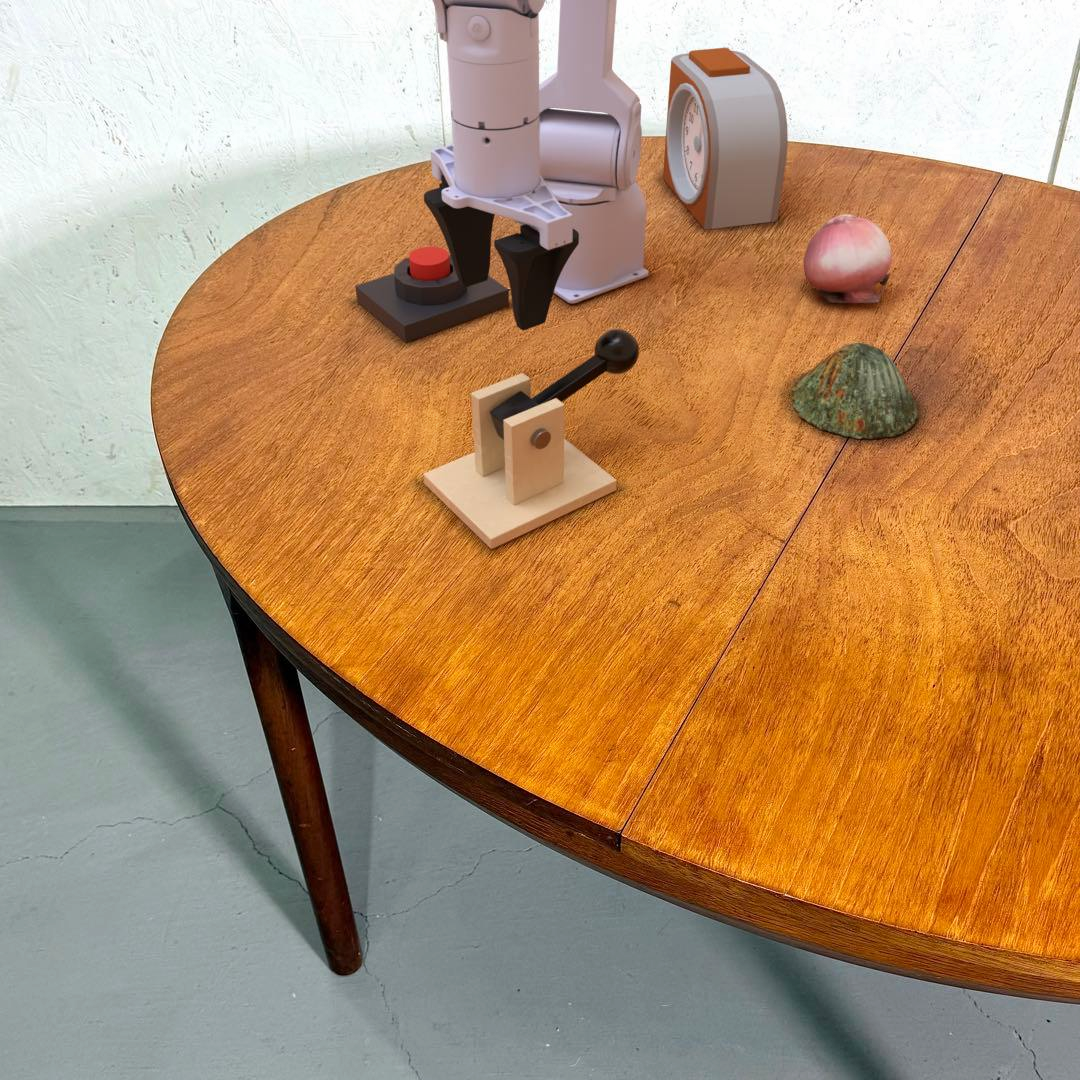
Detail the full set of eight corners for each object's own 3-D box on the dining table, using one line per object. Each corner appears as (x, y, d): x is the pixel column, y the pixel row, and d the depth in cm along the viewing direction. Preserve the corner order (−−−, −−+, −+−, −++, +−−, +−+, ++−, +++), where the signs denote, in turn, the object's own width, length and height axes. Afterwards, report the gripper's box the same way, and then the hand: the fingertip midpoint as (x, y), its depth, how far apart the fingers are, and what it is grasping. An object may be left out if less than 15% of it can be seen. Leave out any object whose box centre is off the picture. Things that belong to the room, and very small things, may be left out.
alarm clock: (655, 173, 120) (663, 47, 111) (726, 166, 122) (739, 40, 113) (701, 230, 109) (714, 95, 100) (778, 221, 111) (797, 87, 102)
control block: (457, 269, 103) (455, 235, 101) (509, 306, 98) (508, 271, 96) (357, 302, 99) (352, 267, 96) (406, 343, 93) (402, 307, 91)
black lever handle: (623, 347, 79) (616, 313, 76) (651, 366, 77) (644, 332, 74) (494, 436, 76) (483, 403, 73) (520, 457, 74) (509, 425, 71)
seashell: (793, 379, 81) (812, 317, 88) (781, 423, 83) (800, 359, 90) (927, 412, 79) (935, 346, 86) (910, 456, 81) (919, 388, 89)
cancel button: (437, 260, 98) (435, 242, 97) (457, 275, 96) (456, 257, 95) (403, 271, 97) (401, 253, 95) (423, 286, 94) (422, 268, 93)
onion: (851, 266, 103) (865, 195, 98) (903, 302, 98) (921, 228, 93) (782, 284, 101) (794, 212, 96) (833, 321, 95) (848, 247, 91)
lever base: (544, 432, 83) (544, 345, 78) (616, 490, 78) (621, 401, 72) (423, 484, 78) (414, 395, 73) (491, 550, 73) (486, 459, 68)
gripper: (386, 95, 71) (404, 279, 80) (506, 164, 62) (511, 363, 71) (475, 74, 74) (483, 254, 83) (601, 138, 65) (595, 331, 74)
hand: (501, 302), depth 78 cm, fingers open, 7 cm apart
